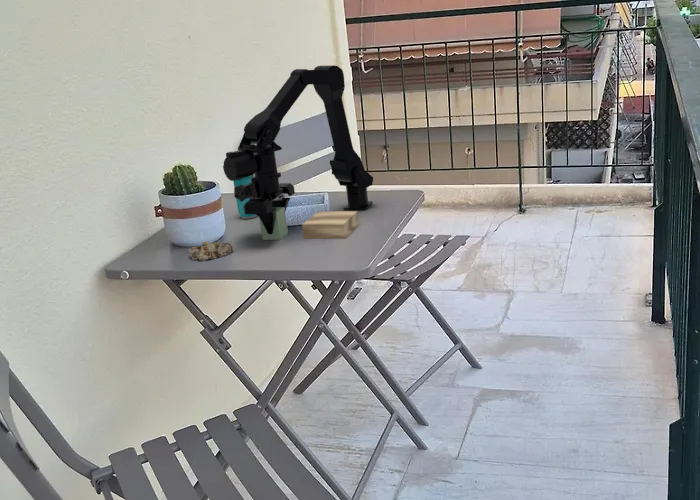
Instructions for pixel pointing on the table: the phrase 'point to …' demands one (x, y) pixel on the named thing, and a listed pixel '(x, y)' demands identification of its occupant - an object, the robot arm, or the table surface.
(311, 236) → the oak box
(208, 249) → the mineral rock
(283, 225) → the sage block
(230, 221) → the table surface
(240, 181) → the beverage can
